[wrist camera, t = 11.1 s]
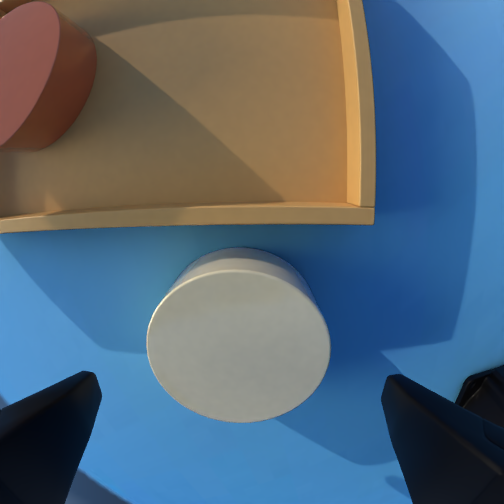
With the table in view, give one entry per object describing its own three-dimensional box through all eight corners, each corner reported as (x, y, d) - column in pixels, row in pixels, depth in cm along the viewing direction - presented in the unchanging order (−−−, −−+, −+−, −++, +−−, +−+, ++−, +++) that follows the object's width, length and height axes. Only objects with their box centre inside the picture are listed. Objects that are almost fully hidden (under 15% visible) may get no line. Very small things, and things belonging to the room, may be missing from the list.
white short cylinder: (309, 377, 14) (320, 420, 11) (176, 376, 14) (161, 418, 11) (320, 246, 12) (340, 268, 9) (160, 247, 12) (133, 269, 9)
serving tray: (355, 216, 12) (374, 225, 10) (-9, 228, 12) (-35, 236, 10) (335, -47, 8) (345, -70, 6) (10, 12, 9) (-10, 2, 6)
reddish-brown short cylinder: (92, 140, 10) (49, 133, 7) (-6, 163, 10) (-48, 165, 7) (106, 8, 9) (76, -22, 6) (7, 48, 9) (-28, 35, 6)
